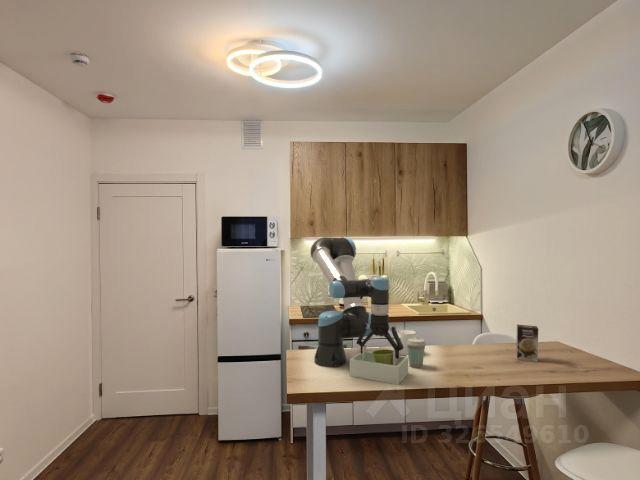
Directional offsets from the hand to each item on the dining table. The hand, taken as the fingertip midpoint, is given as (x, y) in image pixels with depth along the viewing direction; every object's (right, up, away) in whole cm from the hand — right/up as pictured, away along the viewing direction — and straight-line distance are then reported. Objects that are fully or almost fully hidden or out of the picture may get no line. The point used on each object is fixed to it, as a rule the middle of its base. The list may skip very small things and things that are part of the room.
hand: (379, 363), depth 171 cm
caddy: (0, -5, 0) cm, 5 cm away
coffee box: (+75, -5, +23) cm, 79 cm away
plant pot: (+2, -4, -1) cm, 4 cm away
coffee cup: (+18, -5, +12) cm, 23 cm away
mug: (+18, -5, +32) cm, 37 cm away
